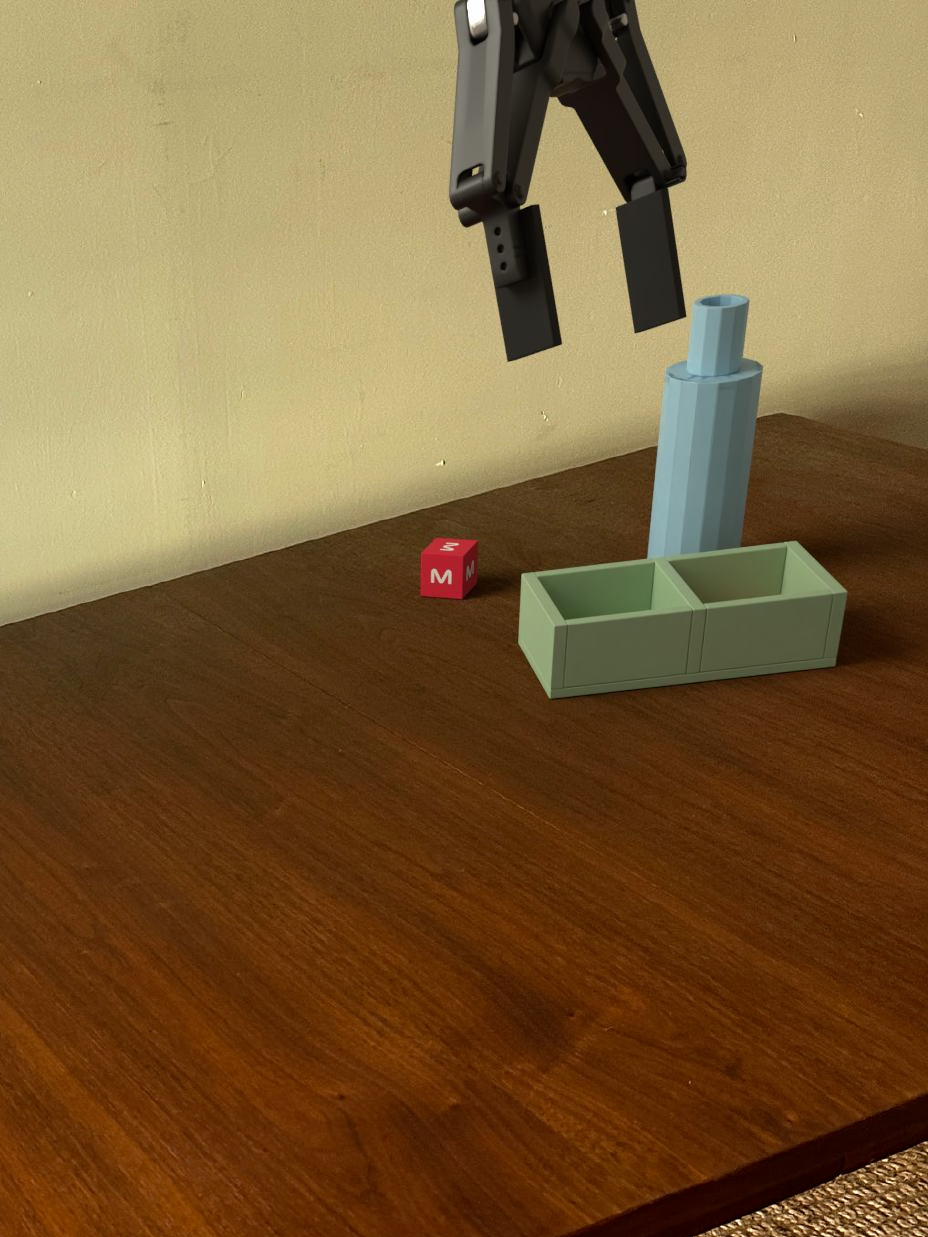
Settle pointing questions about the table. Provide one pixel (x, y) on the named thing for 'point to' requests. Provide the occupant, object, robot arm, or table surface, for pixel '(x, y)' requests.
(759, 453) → the table surface
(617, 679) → the holder
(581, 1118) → the table surface
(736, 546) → the bottle
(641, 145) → the robot arm
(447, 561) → the red letter cube
